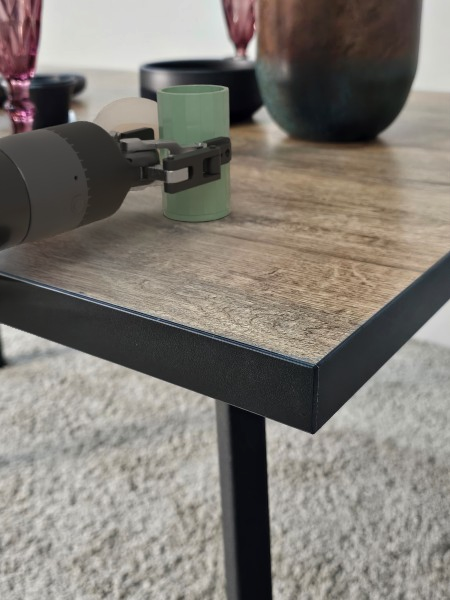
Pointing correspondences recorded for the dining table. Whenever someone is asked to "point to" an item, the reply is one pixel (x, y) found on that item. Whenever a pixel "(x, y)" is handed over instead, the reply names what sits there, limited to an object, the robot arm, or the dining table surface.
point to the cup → (190, 129)
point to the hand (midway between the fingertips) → (188, 143)
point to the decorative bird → (129, 116)
